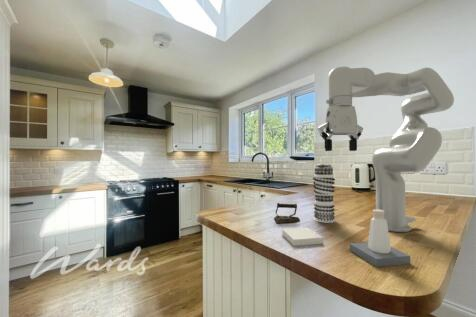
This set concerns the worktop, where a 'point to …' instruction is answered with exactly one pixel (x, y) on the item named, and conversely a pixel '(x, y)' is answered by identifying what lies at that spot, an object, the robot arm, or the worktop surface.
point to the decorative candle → (324, 193)
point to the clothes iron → (286, 218)
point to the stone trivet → (302, 236)
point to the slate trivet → (379, 255)
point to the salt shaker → (379, 233)
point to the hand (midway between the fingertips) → (340, 150)
